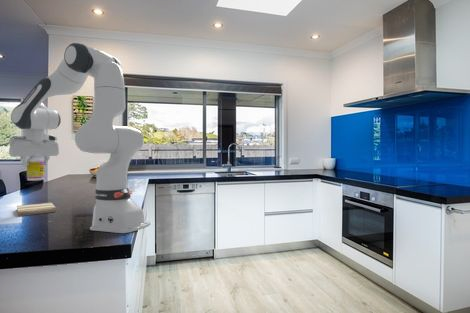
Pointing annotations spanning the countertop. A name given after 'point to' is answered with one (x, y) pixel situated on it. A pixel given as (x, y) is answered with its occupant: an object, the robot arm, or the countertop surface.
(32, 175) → the supplement bottle
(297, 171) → the countertop surface
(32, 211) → the birch board
